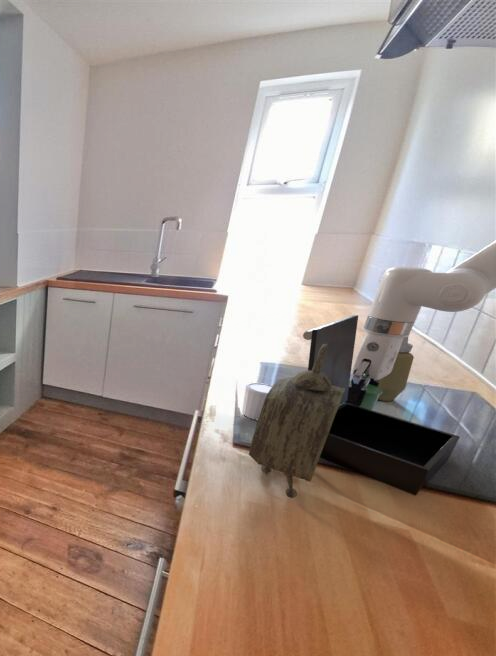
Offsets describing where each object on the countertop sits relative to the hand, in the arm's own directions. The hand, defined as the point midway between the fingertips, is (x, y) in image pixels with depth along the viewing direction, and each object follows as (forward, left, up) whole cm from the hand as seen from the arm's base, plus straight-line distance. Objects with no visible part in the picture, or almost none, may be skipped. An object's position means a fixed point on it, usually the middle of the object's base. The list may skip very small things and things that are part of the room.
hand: (358, 399), depth 96 cm
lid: (+1, +21, +12) cm, 24 cm away
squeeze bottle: (0, -16, -4) cm, 16 cm away
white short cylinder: (+12, +21, -4) cm, 24 cm away
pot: (0, 0, -1) cm, 1 cm away
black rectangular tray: (-9, +21, -3) cm, 23 cm away
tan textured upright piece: (-3, +43, -4) cm, 43 cm away
